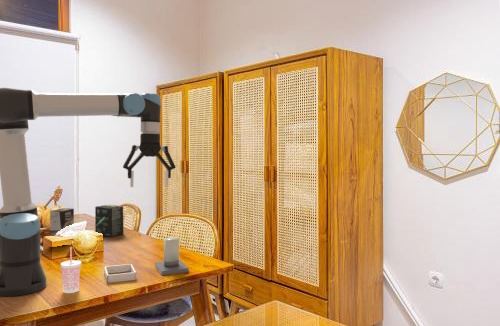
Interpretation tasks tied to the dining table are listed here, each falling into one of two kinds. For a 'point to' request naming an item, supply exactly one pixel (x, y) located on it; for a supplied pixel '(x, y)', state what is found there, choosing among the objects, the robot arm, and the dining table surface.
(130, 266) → the white tray
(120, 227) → the tampon box
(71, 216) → the coffee box
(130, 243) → the dining table surface
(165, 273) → the plate
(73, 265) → the beverage cup
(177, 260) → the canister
